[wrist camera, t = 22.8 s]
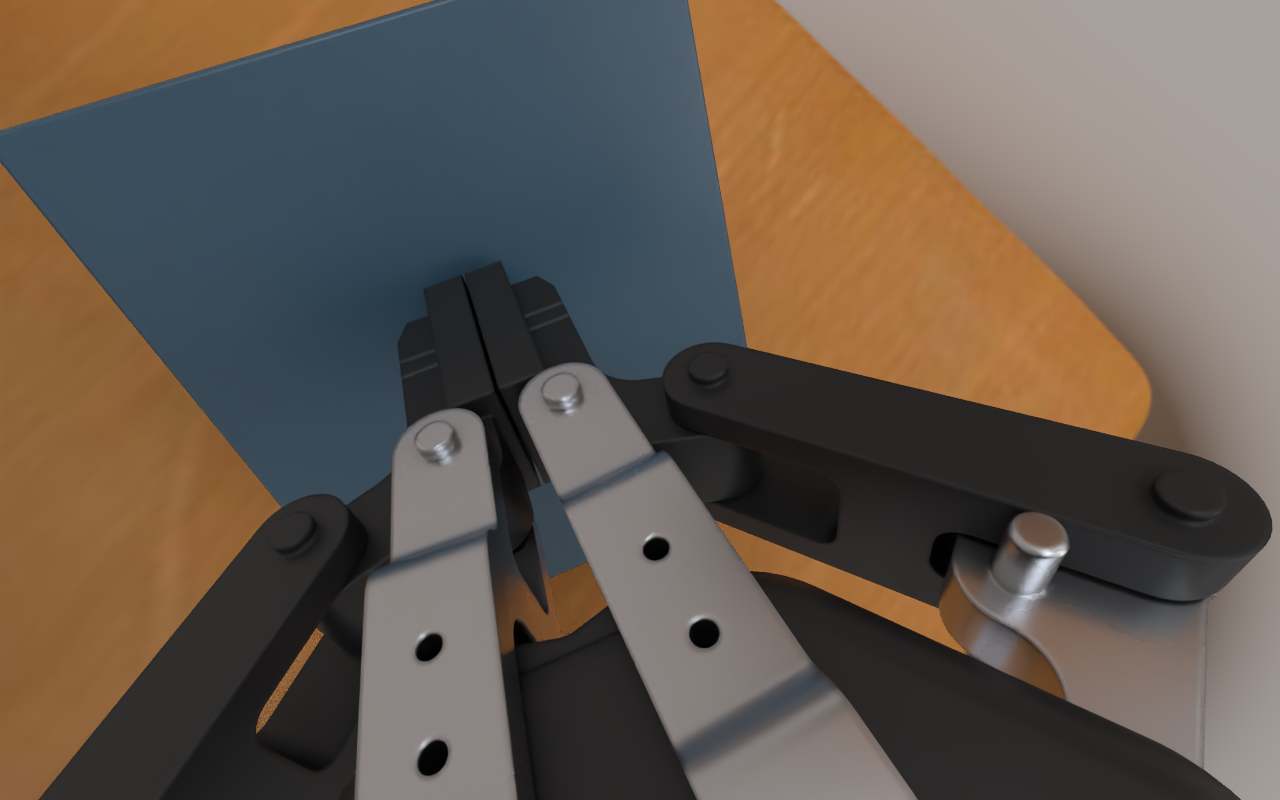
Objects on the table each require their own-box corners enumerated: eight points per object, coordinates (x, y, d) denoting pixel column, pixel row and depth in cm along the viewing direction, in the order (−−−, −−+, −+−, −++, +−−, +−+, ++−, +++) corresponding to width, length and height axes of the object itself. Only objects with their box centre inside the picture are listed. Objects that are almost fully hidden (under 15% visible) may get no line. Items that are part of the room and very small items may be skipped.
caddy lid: (7, 130, 9) (-24, 137, 9) (660, -66, 11) (677, -73, 10) (394, 622, 16) (393, 647, 15) (758, 466, 17) (771, 483, 17)
